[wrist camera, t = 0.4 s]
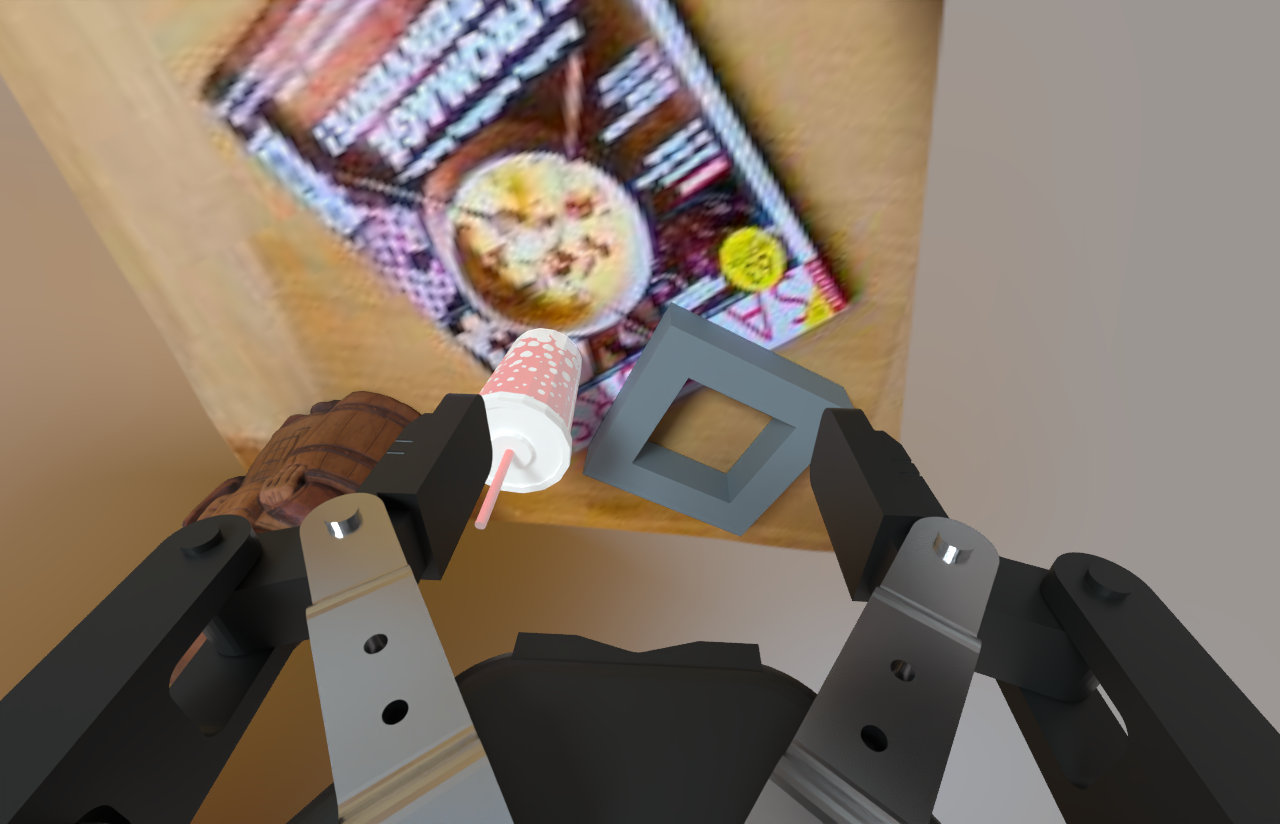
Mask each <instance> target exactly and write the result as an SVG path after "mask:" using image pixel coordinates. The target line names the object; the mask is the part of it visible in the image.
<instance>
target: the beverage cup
mask: <svg viewBox="0 0 1280 824" xmlns="http://www.w3.org/2000/svg"><path fill="white" fill-rule="evenodd" d="M581 364H582V358H581V356H580V353H579V350H578V348H577V346H576V345H575V344H574V343H573V342H572V341H571V340H570V339H569V338H568V337H567V336H565V335H563V334H561V333H559V332H557V331H555V330H550V329H543V328H538V329H534V330H530V331H526V332H525V333H524V334H523V335H521V336H520V337H519V338H517V339H516V341H515V342H514V344H513V345H512V347H511V348H510V350H509V351H508V352H507V354H506V355H505V357H504V358H503V360H502V361H501V363H500V364H499V366H498V367H497V368H496V370H495V371H494V373H493V374H492V376H491V377H490V379H489V380H488V381H487V383H486V384H485V386H484V387H483V389H482V390H481V392H480V393H479V395H481V396H482V397H483V399H484V403H485V408H486V414H487V419H488V425H489V431H490V437H491V442H492V449H493V460H492V467H491V471H490V474H489V476H488V478H487V480H486V482H485V484H487V485H490V489H489V491H488V493H487V496H486V498H485V501H484V503H483V505H482V508H481V510H480V513H479V515H478V517H477V520H476V523H475V527H476V528H478V529H484V528H485V527H486V525H487V522H488V520H489V517H490V515H491V512H492V509H493V507H494V504H495V502H496V499H497V497H498V494H499V492H500V490H503V491H511V492H519V493H527V492H533V491H539V490H544V489H546V488H547V487H549V486H551V485H553V484H554V483H556V482H558V481H559V480H560V479H561V478H562V476H563V475H564V473H565V472H566V470H567V469H568V467H569V465H570V457H571V451H572V437H571V435H570V433H571V427H572V421H573V415H574V409H575V404H576V398H577V392H578V386H579V380H580V374H581Z"/></svg>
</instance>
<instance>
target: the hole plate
mask: <svg viewBox="0 0 1280 824" xmlns="http://www.w3.org/2000/svg"><path fill="white" fill-rule="evenodd" d="M688 378H690V379H692V380H694V381H696V382H698V383H701V384H703V385H705V386H707V387H709V388H711V389H714V390H716V391H718V392H720V393H722V394H724V395H727V396H729V397H731V398H733V399H735V400H737V401H740V402H742V403H744V404H746V405H748V406H750V407H753V408H755V409H757V410H759V411H761V412H763V413H766V414H768V415H770V416H772V417H774V418H773V419H772V420H771V421H770V422H769V424H768V425H767V426H766V427H765V428H764V430H763V431H762V432H761V433H760V434H759V436H758V437H757V438H756V439H755V440H754V442H753V443H752V444H751V445H750V446H749V448H748V449H747V450H746V451H745V452H744V454H743V455H742V456H741V457H740V458H739V460H738V461H737V462H736V463H735V464H734V466H733V467H732V468H731V469H730V471H729V472H728V473H727V474H725V473H723V472H721V471H718V470H716V469H713V468H711V467H709V466H706V465H704V464H702V463H699V462H697V461H694V460H692V459H690V458H687V457H685V456H683V455H680V454H678V453H676V452H673V451H671V450H668V449H666V448H664V447H661V446H659V445H657V444H654V443H652V442H650V441H647V439H648V438H649V436H650V435H651V433H652V432H653V430H654V429H655V427H656V426H657V424H658V423H659V421H660V420H661V418H662V417H663V415H664V414H665V412H666V411H667V409H668V408H669V406H670V405H671V403H672V402H673V400H674V399H675V397H676V396H677V394H678V393H679V391H680V390H681V388H682V387H683V385H684V384H685V382H686V381H687V379H688ZM826 408H853V406H852V404H851V402H850V400H849V398H848V396H847V393H846V391H845V389H844V387H842V386H840V385H838V384H836V383H834V382H832V381H830V380H828V379H826V378H824V377H822V376H820V375H818V374H816V373H814V372H812V371H810V370H808V369H806V368H804V367H802V366H800V365H797V364H795V363H793V362H791V361H789V360H787V359H785V358H783V357H781V356H779V355H777V354H775V353H773V352H771V351H769V350H767V349H765V348H763V347H761V346H759V345H757V344H755V343H753V342H751V341H749V340H747V339H745V338H743V337H741V336H739V335H737V334H735V333H733V332H731V331H729V330H727V329H725V328H723V327H721V326H719V325H717V324H715V323H713V322H710V321H708V320H706V319H704V318H702V317H700V316H698V315H696V314H694V313H692V312H690V311H688V310H686V309H684V308H682V307H680V306H678V305H676V304H674V303H672V302H671V304H670V305H669V307H668V309H667V310H666V312H665V314H664V316H663V317H662V319H661V321H660V323H659V324H658V326H657V328H656V330H655V331H654V333H653V335H652V337H651V338H650V340H649V342H648V343H647V345H646V347H645V349H644V350H643V352H642V354H641V356H640V357H639V359H638V361H637V363H636V364H635V366H634V368H633V370H632V371H631V373H630V375H629V376H628V378H627V380H626V382H625V383H624V385H623V387H622V389H621V390H620V392H619V394H618V396H617V397H616V399H615V401H614V403H613V404H612V406H611V408H610V410H609V411H608V413H607V415H606V416H605V418H604V420H603V422H602V423H601V425H600V427H599V429H598V430H597V432H596V434H595V436H594V437H593V439H592V441H591V443H590V444H589V446H588V451H587V456H586V460H585V465H584V470H583V474H584V475H586V476H589V477H591V478H594V479H596V480H599V481H601V482H604V483H606V484H609V485H612V486H614V487H617V488H619V489H622V490H624V491H627V492H629V493H632V494H634V495H637V496H639V497H642V498H644V499H647V500H650V501H652V502H655V503H657V504H660V505H662V506H665V507H667V508H670V509H672V510H675V511H677V512H680V513H683V514H685V515H688V516H690V517H693V518H695V519H698V520H700V521H703V522H705V523H708V524H710V525H713V526H715V527H718V528H721V529H723V530H726V531H728V532H731V533H733V534H736V535H738V536H742V535H743V534H744V533H745V532H746V530H747V529H748V528H749V527H750V526H751V525H752V524H753V523H754V522H755V521H756V520H757V519H758V518H759V517H760V516H761V515H762V514H763V513H764V512H765V511H766V509H767V508H768V507H769V506H770V505H771V504H772V503H773V502H774V501H775V500H776V499H777V498H778V497H779V496H780V495H781V494H782V493H783V492H784V491H785V490H786V488H787V487H788V486H789V485H790V484H791V483H792V482H793V481H794V480H795V479H796V478H797V477H798V476H799V475H800V474H801V473H802V472H803V471H804V470H805V469H806V467H807V466H808V465H809V464H810V463H811V458H812V454H813V450H814V446H815V441H816V437H817V433H818V429H819V425H820V421H821V417H822V414H823V411H824V410H825V409H826ZM853 409H854V408H853Z"/></svg>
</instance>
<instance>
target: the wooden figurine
mask: <svg viewBox="0 0 1280 824" xmlns="http://www.w3.org/2000/svg"><path fill="white" fill-rule="evenodd" d="M420 416H421V415H419V414H418V413H417V412H416V411H415V410H414V409H412V408H411V407H409V406H407V405H406V404H403V403H400V402H398V401H396V400H395V399H393V398H391V397H388V396H384V395H380V394H376V393H371V392H366V391H360V392H353V393H351V394H349V395H348V396H346V397H345V398H344V399H342V400H333V401H330V402H320V403H317V404H315V405H314V406H313V407H312V408H311V414H309V415H300V414H297V415H293V416H290V417H289V418H288V419H287V420H286V421H285V422H284V424H283V425H282V426H281V427H280V429H279V430H277V431H276V432H275V433H274V434H273V436H272V438H271V439H270V441H269V442H268V444H267V445H266V446H265V447H264V449H263V450H262V451H261V452H260V454H259V455H258V456H257V458H256V459H255V461H254V462H253V464H252V466H251V467H250V469H249V471H248V473H247V475H246V476H238V477H235V478H231V479H228V480H227V481H225V482H223V483H222V484H221V485H220V486H218V487H217V488H216V489H215V490H214V491H212V492H211V493H210V494H209V495H208V496H207V497H206V498H205V499H204V500H203V501H202V502H201V503H200V504H199V505H198V506H197V507H196V508H195V509H194V510H193V511H192V512H191V513H190V514H189V515H188V516H187V517H186V518H185V520H184V521H183V527H185V526H187V525H189V524H191V523H194V522H196V521H199V520H202V519H205V518H208V517H212V516H217V515H226V514H232V515H239V516H242V517H244V518H246V519H247V520H248V521H249V522H250V524H251V526H252V528H253V530H254V532H255V534H258V533H263V532H269V531H274V530H280V529H285V528H290V527H296V526H301V524H302V522H303V520H304V519H305V517H306V516H307V515H308V514H309V513H310V512H311V511H312V510H314V509H315V508H316V507H318V506H319V505H321V504H322V503H324V502H326V501H328V500H330V499H333V498H336V497H338V496H342V495H346V494H351V493H355V492H356V491H357V489H358V488H359V487H360V485H361V484H362V483H363V481H364V480H365V479H366V477H367V476H368V475H369V474H370V472H371V471H372V470H373V468H374V467H375V466H376V464H377V463H378V462H379V460H380V459H381V458H382V457H383V455H384V454H387V450H388V449H389V447H390V446H391V445H392V443H393V442H396V438H397V437H398V436H399V434H400V433H401V432H402V430H403V429H404V428H405V427H406V425H408V424H409V423H411V422H412V421H414V420H415V419H417V418H418V417H420ZM206 639H207V638H206V636H205V635H204V634H203V632H202V633H201V634H200V635H199V636H198V638H197V639H196V640H195V642H194V643H193V644H192V645H191V647H190V648H189V649H188V651H187V652H186V653H185V654H184V656H183V657H182V658H181V659H180V661H179V662H178V664H177V665H176V667H175V669H174V671H173V673H172V675H171V679H170V684H173V683H174V681H175V680H176V679H177V677H178V676H179V675H180V673H181V672H182V671H183V669H184V668H185V667H186V666H187V664H188V663H189V662H190V660H191V659H192V658H193V656H194V655H195V654H196V652H197V651H198V650H199V648H200V647H201V646H202V645H203V643H204V642H205V641H206ZM301 642H302V641H299V642H298V643H297V644H296V646H295V648H296V647H297V646H298V645H299V644H300V643H301ZM295 648H294V649H295ZM294 649H293V650H294Z"/></svg>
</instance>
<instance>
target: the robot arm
mask: <svg viewBox="0 0 1280 824" xmlns="http://www.w3.org/2000/svg"><path fill="white" fill-rule="evenodd" d="M492 460H493V449H492V442H491V437H490V431H489V425H488V419H487V414H486V408H485V403H484V399H483V397H482V396H481V395H479V394H452V393H449V394H447V395H446V396H445V397H444V398H443V400H442V401H441V402H440V404H439V405H438V407H437V408H436V409H435V411H434V412H433V413H424V414H423V415H421V416H420V417H418V418H417V419H415V420H414V421H412V422H411V423H409V424H408V425H406V427H405V428H404V429H403V430H402V432H401V433H400V434H399V436H398V437H397V438H396V442H393V443H392V445H391V446H390V447H389V449H388V450H387V454H384V455H383V457H382V458H381V459H380V460H379V462H378V463H377V464H376V466H375V467H374V468H373V470H372V471H371V472H370V474H369V475H368V476H367V477H366V479H365V480H364V481H363V483H362V484H361V485H360V487H359V488H358V489H357V491H356V492H355V493H351V494H346V495H342V496H338V497H336V498H333V499H330V500H328V501H326V502H324V503H322V504H321V505H319V506H318V507H316V508H315V509H314V510H312V511H311V512H310V513H309V514H308V515H307V516H306V517H305V519H304V520H303V522H302V524H301V526H296V527H290V528H285V529H280V530H274V531H269V532H263V533H258V534H255V532H254V530H253V528H252V526H251V524H250V522H249V521H248V520H247V519H246V518H244V517H242V516H239V515H232V514H226V515H217V516H212V517H208V518H205V519H202V520H199V521H196V522H194V523H191V524H189V525H187V526H185V527H183V528H181V529H180V530H178V531H177V532H175V533H173V534H172V535H171V536H169V537H168V538H167V539H165V540H164V541H163V542H162V543H161V544H160V545H159V546H158V547H157V548H156V549H155V550H154V551H153V552H152V553H151V554H150V555H149V556H148V557H147V558H146V559H145V560H144V561H143V562H142V563H141V564H140V565H139V566H138V567H136V568H135V569H134V570H133V571H132V572H131V573H130V574H129V575H128V577H126V578H125V579H124V580H123V581H122V582H121V583H120V584H119V585H118V586H117V587H116V588H115V589H114V590H113V591H112V592H111V593H110V594H109V595H108V596H107V597H106V598H105V599H104V600H103V601H102V602H101V603H100V604H99V605H98V606H97V607H96V608H95V609H94V610H93V611H92V612H91V613H90V614H89V615H87V617H86V618H84V619H83V621H81V622H80V624H78V625H77V626H76V627H75V628H74V629H73V630H72V631H71V632H70V633H69V634H68V635H67V636H66V637H65V638H64V639H63V640H62V641H61V642H60V643H59V644H58V645H57V646H56V647H55V648H54V649H53V650H52V651H51V652H50V653H49V654H48V655H47V656H46V657H45V658H44V659H43V660H42V661H41V662H40V663H38V665H36V666H35V668H34V669H33V670H31V671H30V672H29V673H28V674H27V675H26V676H25V677H24V678H23V679H22V680H21V681H20V682H19V683H18V684H17V685H16V686H15V687H14V688H13V689H12V690H11V691H10V692H9V693H8V694H7V695H6V696H5V697H4V698H3V699H2V700H1V701H0V824H190V822H191V821H192V819H193V817H194V816H195V814H196V812H197V811H198V809H199V807H200V806H201V804H202V802H203V800H204V799H205V797H206V796H207V794H208V792H209V790H210V789H211V787H212V786H213V784H214V782H215V781H216V779H217V777H218V775H219V774H220V772H221V770H222V769H223V767H224V765H225V764H226V762H227V760H228V759H229V757H230V755H231V753H232V752H233V750H234V749H235V747H236V745H237V743H238V742H239V740H240V739H241V737H242V735H243V733H244V732H245V730H246V728H247V727H248V725H249V723H250V722H251V720H252V718H253V717H254V715H255V713H256V712H257V710H258V708H259V707H260V705H261V703H262V702H263V700H264V698H265V697H266V695H267V693H268V691H269V690H270V688H271V686H272V684H273V683H274V681H275V680H276V678H277V676H278V675H279V673H280V671H281V670H282V668H283V666H284V665H285V663H286V661H287V660H288V658H289V656H290V655H291V653H292V651H293V649H294V648H295V646H296V644H297V643H298V642H299V641H303V640H308V639H310V642H311V649H312V655H313V660H314V666H315V672H316V678H317V684H318V690H319V696H320V702H321V708H322V714H323V720H324V726H325V732H326V738H327V743H328V750H329V755H330V761H331V767H332V773H333V779H334V782H333V783H332V784H331V785H330V786H328V787H327V788H326V789H325V790H324V791H323V792H322V793H320V794H319V795H318V796H317V797H316V798H315V799H314V800H312V801H311V802H310V803H309V804H308V805H307V806H306V807H304V808H303V809H302V810H301V811H300V812H299V813H298V814H297V815H295V816H294V817H293V818H292V819H291V820H290V821H289V822H287V823H286V824H941V823H940V822H939V821H938V820H937V819H936V818H935V817H934V816H933V814H932V811H933V808H934V805H935V801H936V798H937V794H938V791H939V788H940V784H941V781H942V777H943V774H944V771H945V767H946V764H947V761H948V757H949V754H950V750H951V747H952V744H953V740H954V737H955V734H956V730H957V727H958V724H959V720H960V717H961V713H962V709H963V707H964V703H965V700H966V696H967V693H968V690H969V686H970V683H971V680H972V676H973V673H974V672H977V673H980V674H983V675H986V676H989V677H993V678H995V679H996V681H997V683H998V685H999V687H1000V689H1001V691H1002V693H1003V695H1004V697H1005V699H1006V701H1007V703H1008V705H1009V707H1010V709H1011V712H1012V714H1013V715H1014V718H1015V720H1016V722H1017V724H1018V726H1019V728H1020V730H1021V732H1022V734H1023V736H1024V738H1025V740H1026V742H1027V744H1028V746H1029V748H1030V750H1031V752H1032V754H1033V756H1034V759H1035V761H1036V763H1037V765H1038V767H1039V768H1040V771H1041V773H1042V775H1043V777H1044V779H1045V781H1046V783H1047V785H1048V787H1049V789H1050V791H1051V793H1052V795H1053V797H1054V799H1055V802H1056V804H1057V806H1058V808H1059V810H1060V812H1061V814H1062V816H1063V818H1064V820H1065V822H1066V824H1280V734H1279V733H1278V732H1277V731H1276V730H1275V728H1274V727H1273V726H1272V725H1271V724H1270V723H1269V722H1268V720H1266V718H1265V717H1264V716H1263V715H1262V714H1261V713H1260V712H1259V710H1258V709H1257V708H1256V707H1255V706H1254V705H1253V704H1252V703H1251V701H1250V700H1249V699H1248V698H1247V697H1246V696H1245V694H1244V693H1243V692H1242V691H1241V690H1240V689H1239V688H1238V687H1237V686H1236V684H1235V683H1234V682H1233V681H1232V680H1231V679H1230V678H1229V676H1228V675H1226V673H1225V672H1224V671H1223V670H1222V669H1221V667H1220V666H1219V665H1218V664H1217V663H1216V662H1215V661H1214V660H1213V658H1212V657H1211V656H1210V655H1209V654H1208V653H1207V652H1206V651H1205V649H1204V648H1203V647H1202V646H1201V645H1200V644H1199V643H1198V641H1197V640H1196V639H1195V638H1194V637H1193V636H1192V635H1191V633H1190V632H1189V631H1188V630H1187V629H1186V628H1185V627H1184V626H1183V625H1182V623H1181V622H1180V621H1179V620H1178V619H1177V618H1176V617H1175V615H1174V614H1173V613H1172V612H1171V611H1170V610H1169V609H1168V607H1167V606H1166V605H1165V604H1164V603H1163V602H1162V601H1161V600H1160V598H1159V597H1158V596H1157V595H1156V594H1155V593H1154V592H1153V591H1152V589H1150V587H1149V586H1147V584H1146V583H1145V582H1143V581H1142V580H1141V579H1140V578H1138V577H1137V576H1136V575H1134V574H1133V573H1131V572H1130V571H1128V570H1126V569H1125V568H1123V567H1121V566H1119V565H1117V564H1115V563H1113V562H1111V561H1109V560H1106V559H1104V558H1101V557H1098V556H1094V555H1090V554H1085V553H1066V554H1063V555H1061V556H1059V557H1058V558H1057V559H1056V560H1055V562H1054V563H1053V565H1052V566H1051V568H1050V570H1047V569H1044V568H1040V567H1036V566H1032V565H1028V564H1025V563H1021V562H1017V561H1014V560H1010V559H1006V558H1003V557H1000V556H999V555H998V553H997V550H996V549H995V547H994V546H993V544H992V543H991V542H990V541H989V540H988V539H987V538H986V537H985V536H984V535H982V534H981V533H980V532H978V531H977V530H975V529H974V528H972V527H970V526H968V525H966V524H964V523H961V522H959V521H956V520H952V519H949V517H948V516H947V514H946V513H945V511H944V510H943V508H942V507H941V505H940V503H939V502H938V500H937V499H936V497H935V496H934V494H933V493H932V491H931V490H930V488H929V486H928V485H927V483H926V482H925V480H924V479H923V477H922V476H920V475H919V471H918V470H917V468H916V466H915V465H914V464H913V463H911V459H910V457H909V456H908V454H907V453H906V451H905V449H904V448H903V447H902V445H901V444H900V443H899V442H897V441H896V440H895V439H893V438H892V437H891V436H889V435H888V434H887V433H886V432H884V431H874V429H873V428H872V426H871V424H870V423H869V421H868V419H867V417H866V416H865V414H864V412H863V411H862V410H861V409H853V408H826V409H825V410H824V411H823V414H822V417H821V421H820V425H819V429H818V433H817V437H816V441H815V446H814V450H813V454H812V458H811V463H810V482H811V486H812V490H813V492H814V495H815V498H816V501H817V504H818V506H819V509H820V512H821V515H822V518H823V520H824V523H825V526H826V529H827V531H828V534H829V537H830V540H831V543H832V545H833V548H834V551H835V554H836V556H837V559H838V562H839V565H840V568H841V570H842V573H843V576H844V579H845V582H846V585H847V587H848V590H849V593H850V596H851V599H852V601H862V602H868V603H867V605H866V607H865V608H864V610H863V612H862V614H861V616H860V618H859V619H858V621H857V623H856V625H855V627H854V628H853V630H852V632H851V634H850V636H849V638H848V640H847V641H846V643H845V645H844V647H843V649H842V651H841V652H840V654H839V656H838V658H837V660H836V662H835V663H834V665H833V667H832V669H831V671H830V673H829V674H828V676H827V678H826V680H825V682H824V684H823V685H822V687H821V689H820V691H819V693H818V695H817V694H816V693H815V692H813V691H812V690H811V689H810V688H808V687H807V686H805V685H804V684H802V683H801V682H800V681H798V680H796V679H794V678H793V677H791V676H789V675H787V674H785V673H783V672H781V671H779V670H776V669H774V668H772V667H769V666H766V665H763V664H761V660H760V659H761V658H760V652H759V646H758V644H744V643H724V642H704V641H697V642H692V643H687V644H682V645H677V646H672V647H667V648H662V649H657V650H652V651H647V652H641V653H637V652H631V651H627V650H624V649H621V648H617V647H614V646H611V645H607V644H604V643H600V642H598V641H594V640H591V639H587V638H584V637H581V636H578V635H563V634H542V633H522V632H519V633H518V636H517V640H516V644H515V647H514V651H513V652H510V653H505V654H502V655H498V656H495V657H492V658H489V659H487V660H485V661H483V662H480V663H478V664H476V665H474V666H472V667H470V668H469V669H467V670H465V671H463V672H462V673H460V674H459V675H458V676H456V677H455V678H454V676H453V674H452V671H451V668H450V666H449V663H448V660H447V658H446V655H445V653H444V650H443V648H442V645H441V643H440V640H439V638H438V635H437V633H436V630H435V628H434V625H433V623H432V621H431V618H430V615H429V613H428V610H427V608H426V605H425V603H424V601H423V598H422V595H421V593H420V590H419V588H418V583H419V581H420V579H425V580H441V579H442V576H443V574H444V572H445V570H446V568H447V566H448V563H449V561H450V559H451V557H452V555H453V552H454V550H455V548H456V546H457V544H458V541H459V539H460V537H461V535H462V533H463V531H464V528H465V526H466V524H467V522H468V520H469V517H470V515H471V513H472V511H473V509H474V506H475V504H476V502H477V500H478V498H479V496H480V493H481V491H482V489H483V487H484V485H485V482H486V480H487V478H488V476H489V474H490V471H491V467H492ZM202 632H203V634H204V635H205V636H206V638H207V639H206V641H205V642H204V643H203V645H202V646H201V647H200V648H199V650H198V651H197V652H196V654H195V655H194V656H193V658H192V659H191V660H190V662H189V663H188V664H187V666H186V667H185V668H184V669H183V671H182V672H181V673H180V675H179V676H178V677H177V679H176V680H175V681H174V683H173V684H172V685H171V687H170V688H169V683H170V679H171V675H172V673H173V671H174V669H175V667H176V665H177V664H178V662H179V661H180V659H181V658H182V657H183V656H184V654H185V653H186V652H187V651H188V649H189V648H190V647H191V645H192V644H193V643H194V642H195V640H196V639H197V638H198V636H199V635H200V634H201V633H202ZM1099 684H1101V686H1102V687H1103V689H1104V690H1105V692H1106V693H1107V695H1108V696H1109V698H1110V699H1111V701H1112V702H1113V704H1114V705H1115V707H1116V708H1117V710H1118V711H1119V713H1120V714H1121V716H1122V718H1123V720H1124V722H1125V725H1126V728H1127V732H1128V736H1127V734H1126V733H1125V731H1124V730H1123V728H1122V727H1121V725H1120V724H1119V722H1118V720H1117V719H1116V717H1115V716H1114V714H1113V713H1112V711H1111V710H1110V708H1109V707H1108V705H1107V704H1106V702H1105V700H1104V699H1103V697H1102V696H1101V694H1100V693H1099V691H1098V690H1097V688H1096V687H1097V686H1098V685H1099Z"/></svg>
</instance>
